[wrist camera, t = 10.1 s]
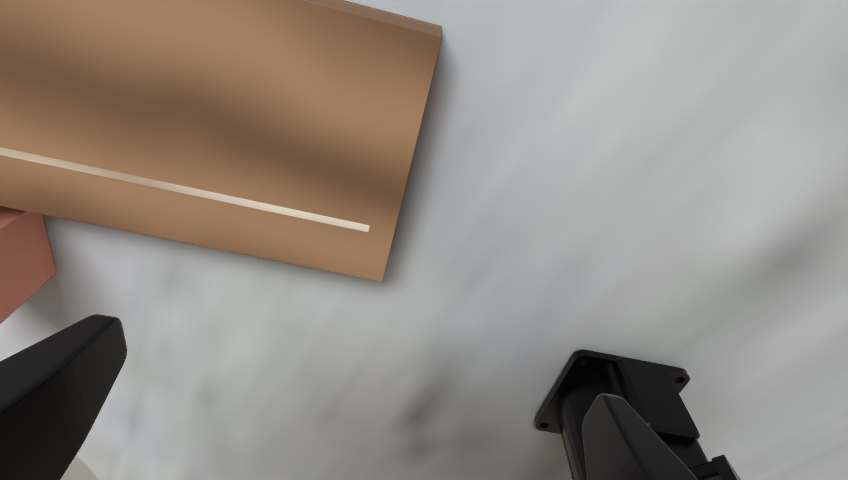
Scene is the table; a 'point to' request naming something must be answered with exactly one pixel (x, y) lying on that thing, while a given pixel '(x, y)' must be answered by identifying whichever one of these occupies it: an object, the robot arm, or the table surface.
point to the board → (217, 121)
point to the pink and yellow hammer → (22, 258)
